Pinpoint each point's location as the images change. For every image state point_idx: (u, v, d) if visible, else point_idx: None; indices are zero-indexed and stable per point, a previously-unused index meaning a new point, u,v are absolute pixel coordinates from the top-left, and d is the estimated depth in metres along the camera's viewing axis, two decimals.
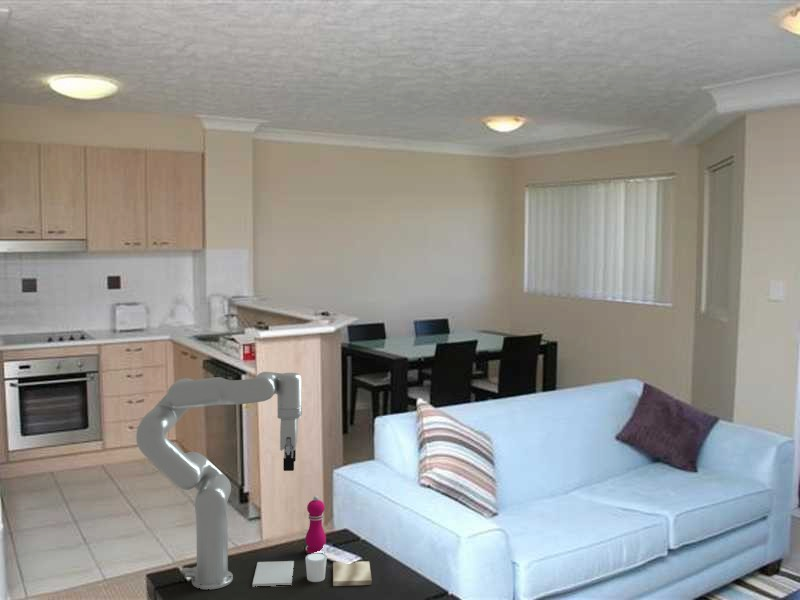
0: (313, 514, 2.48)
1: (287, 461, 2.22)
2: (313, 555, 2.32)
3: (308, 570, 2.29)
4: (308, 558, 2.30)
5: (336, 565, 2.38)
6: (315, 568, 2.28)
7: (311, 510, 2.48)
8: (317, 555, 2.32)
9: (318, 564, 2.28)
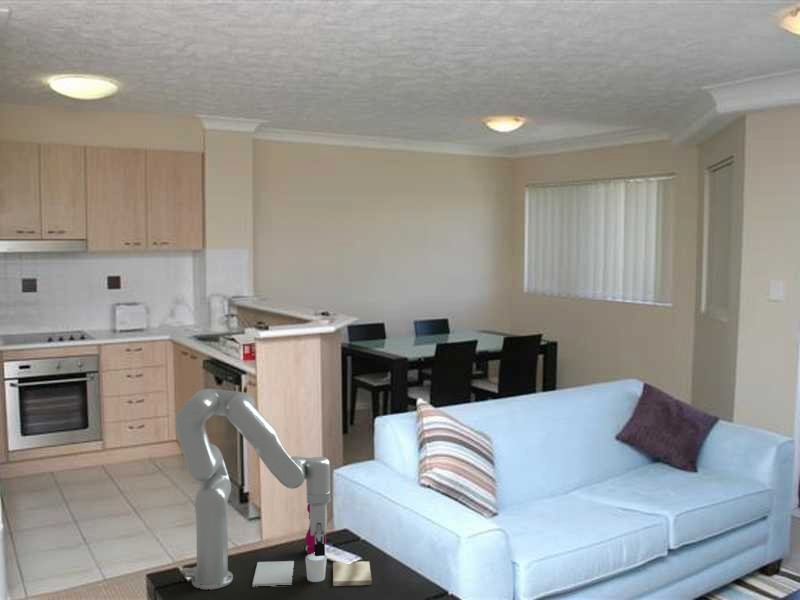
0: None
1: (318, 547, 2.25)
2: (313, 555, 2.32)
3: (308, 570, 2.29)
4: (308, 558, 2.30)
5: (336, 565, 2.38)
6: (315, 568, 2.28)
7: None
8: None
9: (318, 564, 2.28)
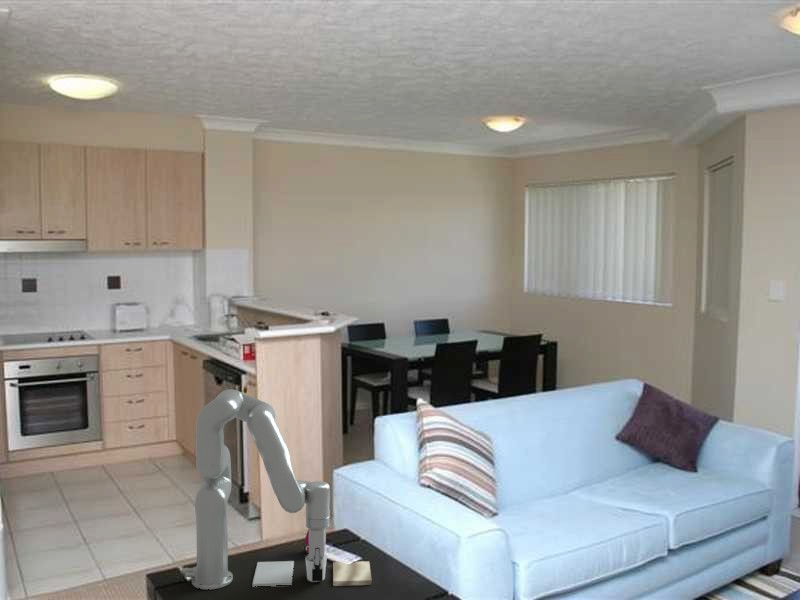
0: None
1: (316, 572, 2.27)
2: None
3: (308, 570, 2.29)
4: (308, 558, 2.30)
5: (336, 565, 2.38)
6: None
7: None
8: None
9: None
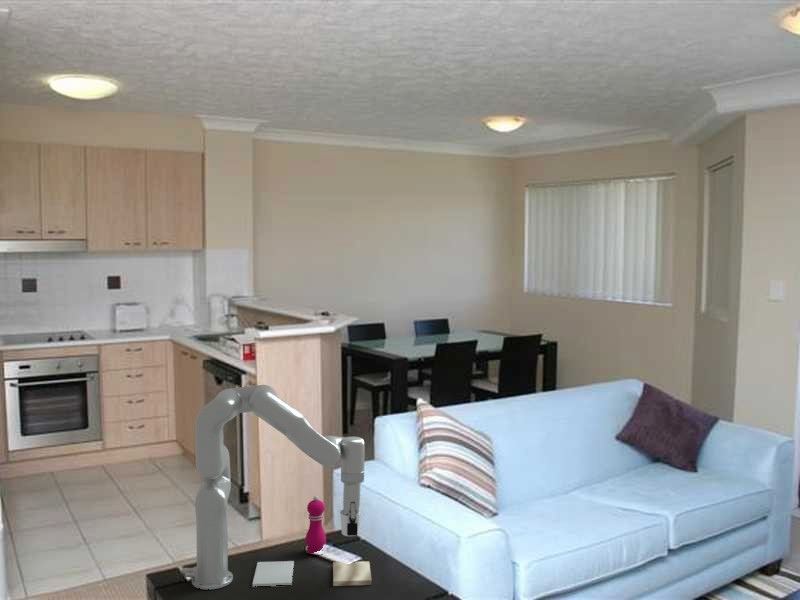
0: (313, 514, 2.48)
1: (351, 526, 2.29)
2: None
3: (343, 524, 2.30)
4: (343, 513, 2.31)
5: (336, 565, 2.38)
6: None
7: (311, 510, 2.48)
8: None
9: None
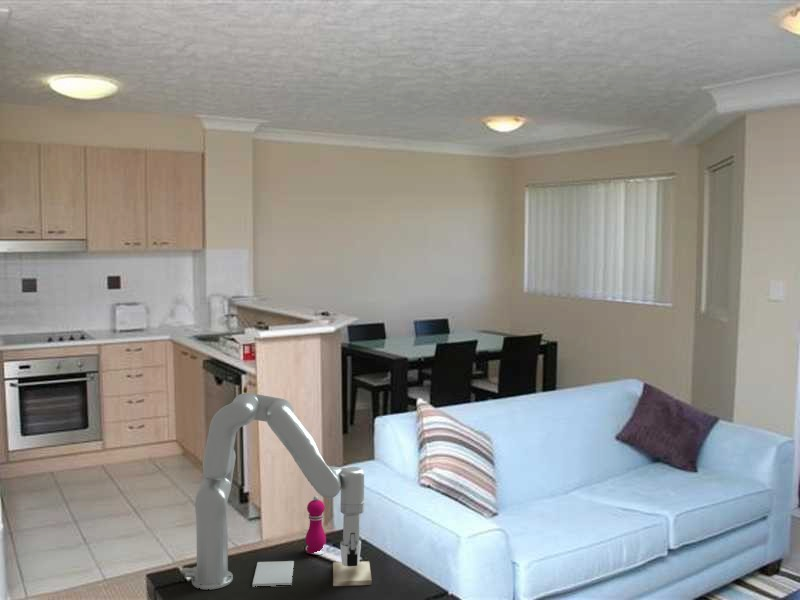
0: (313, 514, 2.48)
1: (351, 557, 2.29)
2: None
3: (343, 555, 2.31)
4: (343, 543, 2.32)
5: (336, 565, 2.38)
6: None
7: (311, 510, 2.48)
8: None
9: None
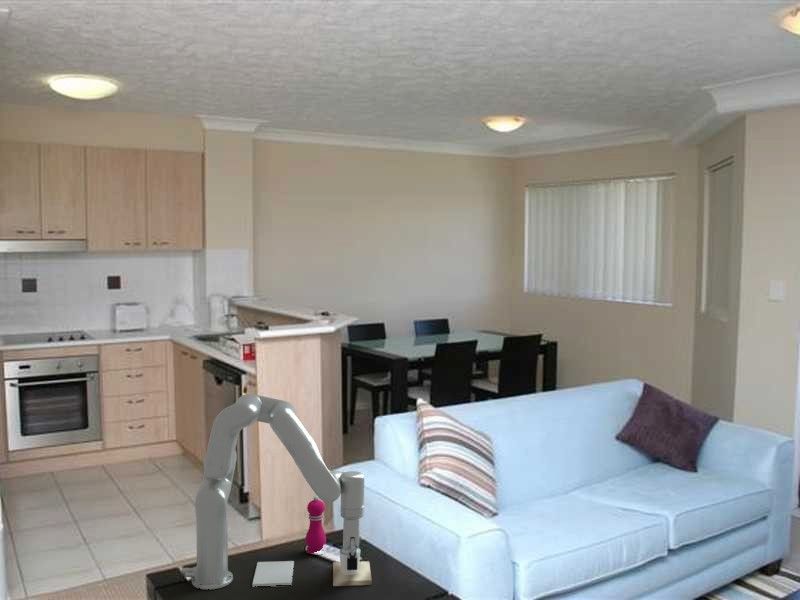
0: (313, 514, 2.48)
1: (351, 561, 2.28)
2: (347, 549, 2.34)
3: (342, 563, 2.31)
4: (342, 552, 2.32)
5: (336, 565, 2.38)
6: None
7: (311, 510, 2.48)
8: None
9: None
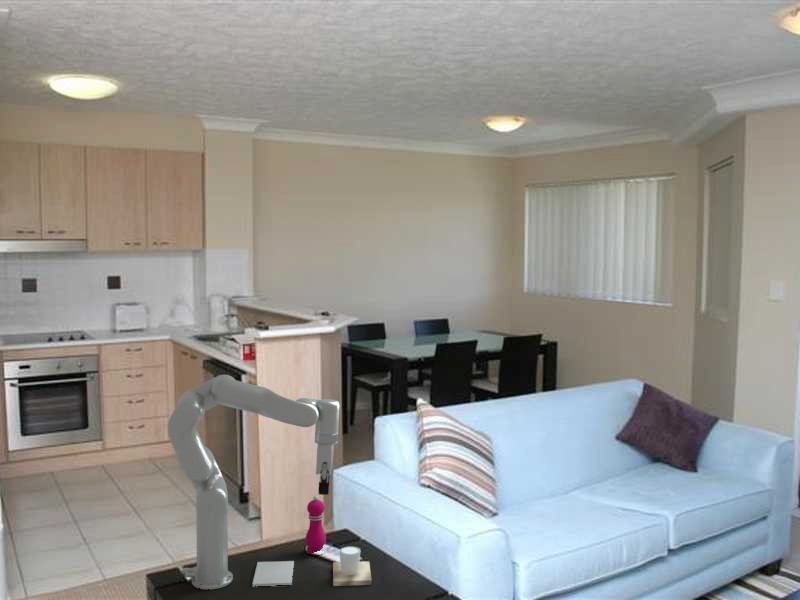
0: (313, 514, 2.48)
1: (322, 485, 2.30)
2: (347, 549, 2.34)
3: (342, 563, 2.31)
4: (342, 552, 2.32)
5: (336, 565, 2.38)
6: (350, 561, 2.30)
7: (311, 510, 2.48)
8: (351, 549, 2.34)
9: (353, 557, 2.30)
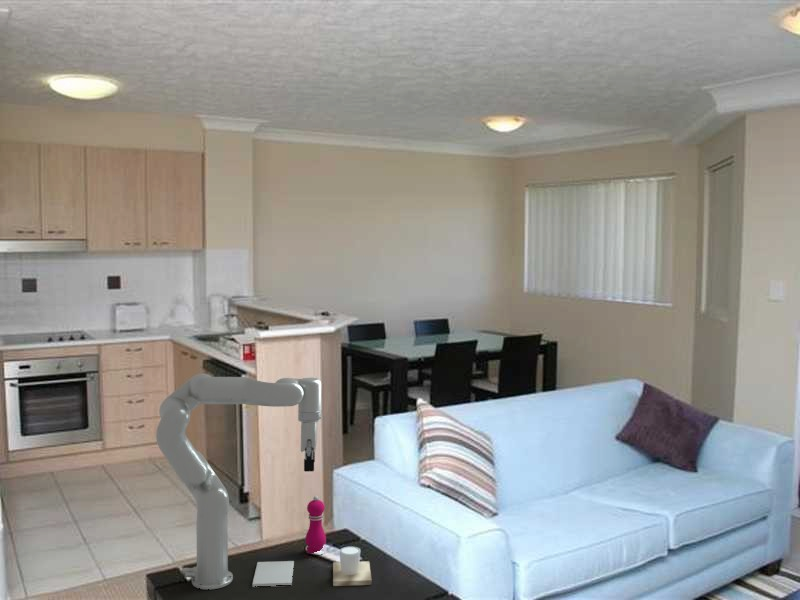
0: (313, 514, 2.48)
1: (307, 462, 2.33)
2: (347, 549, 2.34)
3: (342, 563, 2.31)
4: (342, 552, 2.32)
5: (336, 565, 2.38)
6: (350, 561, 2.30)
7: (311, 510, 2.48)
8: (351, 549, 2.34)
9: (353, 557, 2.30)
